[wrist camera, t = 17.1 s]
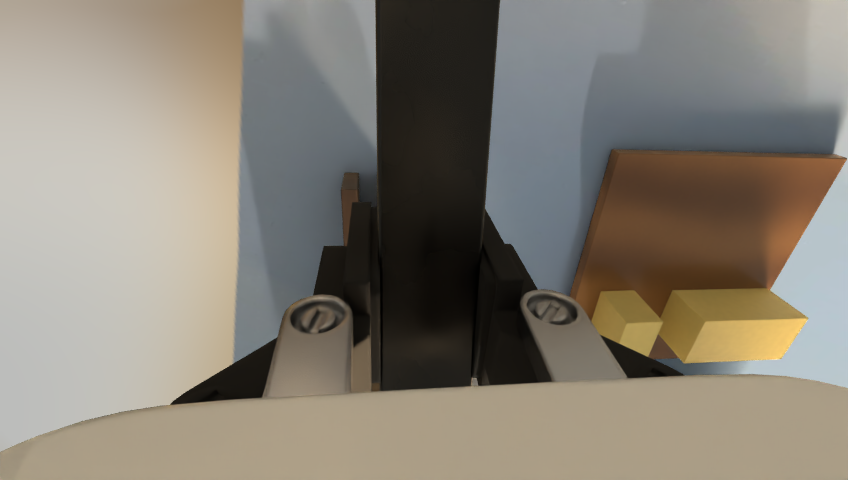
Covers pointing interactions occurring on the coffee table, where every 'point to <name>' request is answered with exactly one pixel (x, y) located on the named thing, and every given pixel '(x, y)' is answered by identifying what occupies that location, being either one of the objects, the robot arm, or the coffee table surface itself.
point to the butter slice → (627, 320)
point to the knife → (432, 183)
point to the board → (697, 223)
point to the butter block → (729, 325)
